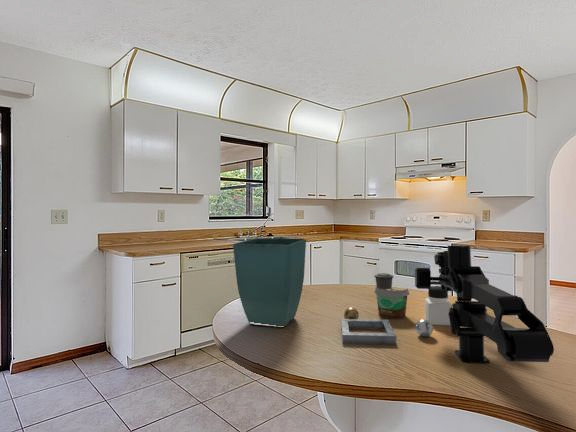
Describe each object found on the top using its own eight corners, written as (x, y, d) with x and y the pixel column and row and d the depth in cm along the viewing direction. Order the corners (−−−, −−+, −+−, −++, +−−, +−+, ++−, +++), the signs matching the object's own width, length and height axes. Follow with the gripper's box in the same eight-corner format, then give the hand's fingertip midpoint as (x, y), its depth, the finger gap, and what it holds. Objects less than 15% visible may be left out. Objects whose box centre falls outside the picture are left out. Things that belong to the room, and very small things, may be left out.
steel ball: (435, 339, 105) (435, 322, 105) (417, 339, 106) (417, 322, 106) (430, 333, 110) (430, 317, 110) (413, 333, 111) (413, 317, 111)
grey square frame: (396, 344, 102) (396, 336, 102) (342, 343, 104) (342, 334, 104) (388, 327, 117) (387, 319, 117) (341, 326, 119) (341, 318, 119)
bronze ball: (359, 324, 120) (359, 309, 120) (344, 324, 121) (344, 309, 120) (358, 320, 125) (358, 305, 125) (343, 319, 125) (343, 305, 125)
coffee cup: (371, 295, 159) (370, 273, 159) (387, 293, 162) (386, 271, 161) (381, 299, 151) (380, 276, 151) (397, 298, 154) (397, 274, 154)
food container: (370, 317, 128) (370, 289, 128) (375, 312, 134) (374, 285, 133) (406, 321, 122) (406, 292, 122) (409, 316, 128) (409, 288, 128)
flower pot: (291, 334, 112) (289, 244, 112) (233, 328, 119) (231, 243, 118) (308, 315, 131) (306, 238, 131) (258, 311, 138) (256, 238, 137)
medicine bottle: (452, 326, 117) (451, 289, 117) (429, 325, 118) (428, 288, 118) (447, 319, 124) (446, 284, 124) (425, 318, 125) (424, 284, 125)
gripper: (490, 253, 101) (468, 252, 117) (422, 252, 103) (409, 250, 119) (491, 293, 101) (468, 286, 116) (422, 291, 102) (409, 284, 118)
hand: (438, 276), depth 117 cm, fingers open, 9 cm apart
